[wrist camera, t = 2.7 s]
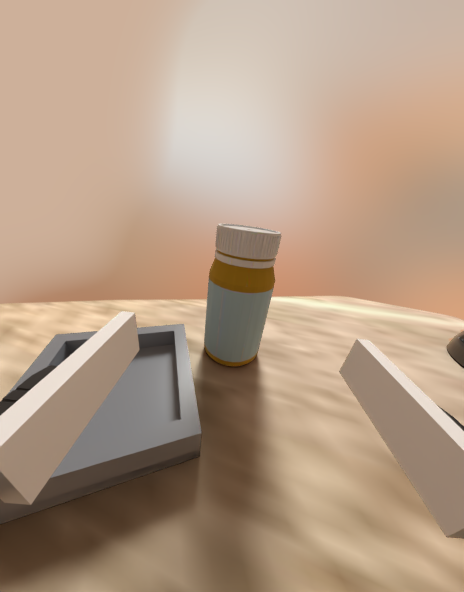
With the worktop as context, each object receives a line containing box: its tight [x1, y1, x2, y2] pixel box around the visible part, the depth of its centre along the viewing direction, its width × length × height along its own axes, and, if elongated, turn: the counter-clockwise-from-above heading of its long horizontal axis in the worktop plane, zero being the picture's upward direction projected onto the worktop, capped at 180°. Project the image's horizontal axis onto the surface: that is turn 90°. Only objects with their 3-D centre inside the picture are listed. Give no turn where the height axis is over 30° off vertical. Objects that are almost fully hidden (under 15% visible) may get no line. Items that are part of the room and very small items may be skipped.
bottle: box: [204, 224, 281, 367], centre depth 20 cm, size 7×7×15 cm
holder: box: [0, 324, 202, 524], centre depth 15 cm, size 12×12×3 cm
